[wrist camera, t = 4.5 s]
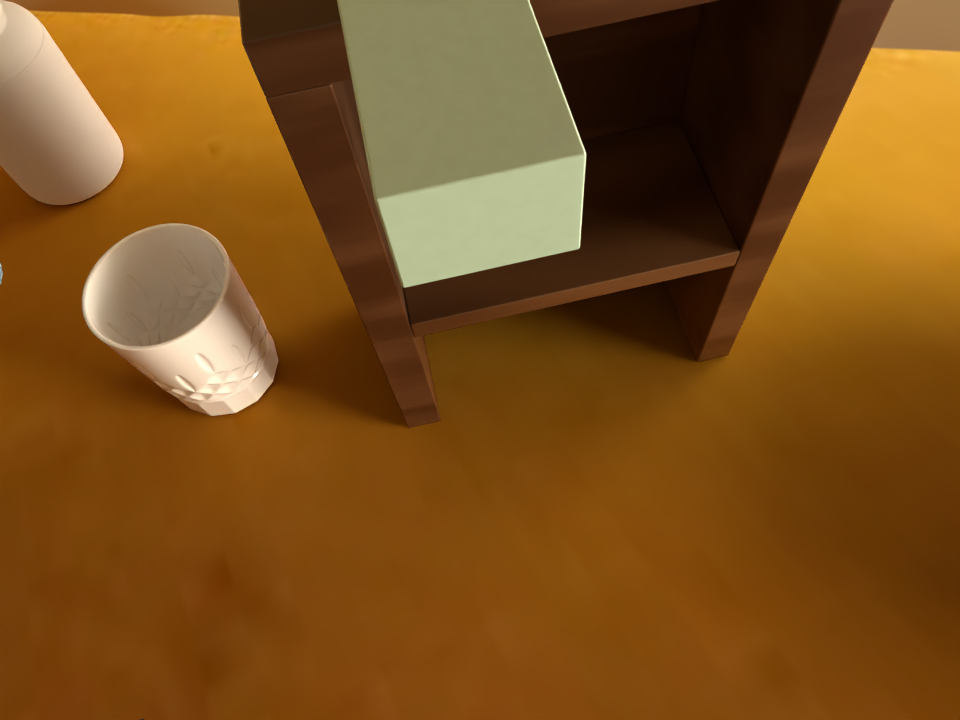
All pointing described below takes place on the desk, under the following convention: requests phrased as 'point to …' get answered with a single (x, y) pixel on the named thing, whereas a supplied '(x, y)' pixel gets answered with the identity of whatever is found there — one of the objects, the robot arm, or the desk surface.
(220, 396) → the white cup
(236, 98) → the desk surface
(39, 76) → the pill bottle
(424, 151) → the pencil tin
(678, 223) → the shelf stand
